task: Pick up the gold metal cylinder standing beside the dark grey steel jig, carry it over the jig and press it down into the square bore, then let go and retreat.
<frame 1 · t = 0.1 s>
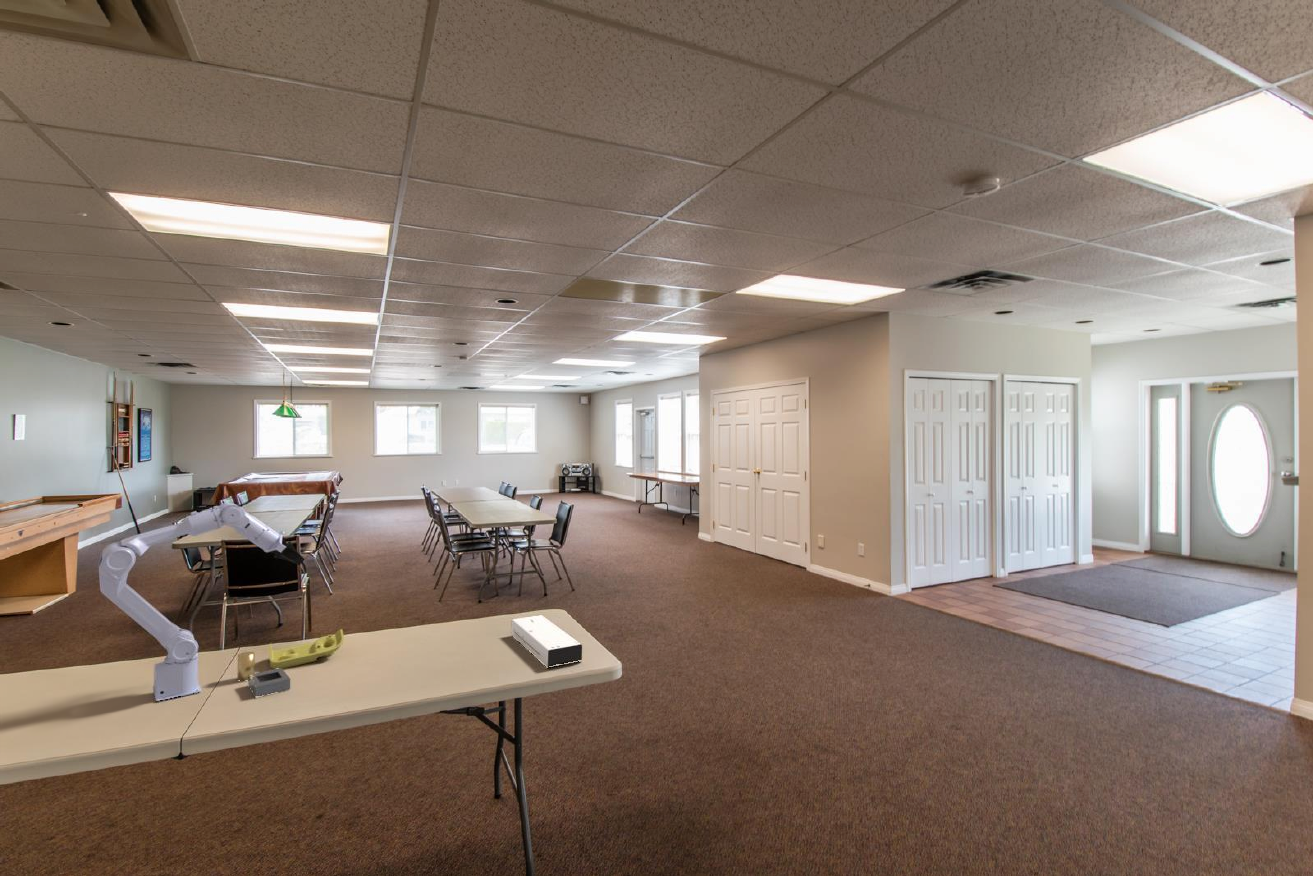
hand: (298, 559, 184), 32 cm above the table, tool tilted 50°, fingers open, 7 cm apart
gold metal cylinder: (246, 678, 175), on the table
plastic component: (306, 660, 190), on the table
jig: (269, 687, 169), on the table
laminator: (546, 650, 203), on the table
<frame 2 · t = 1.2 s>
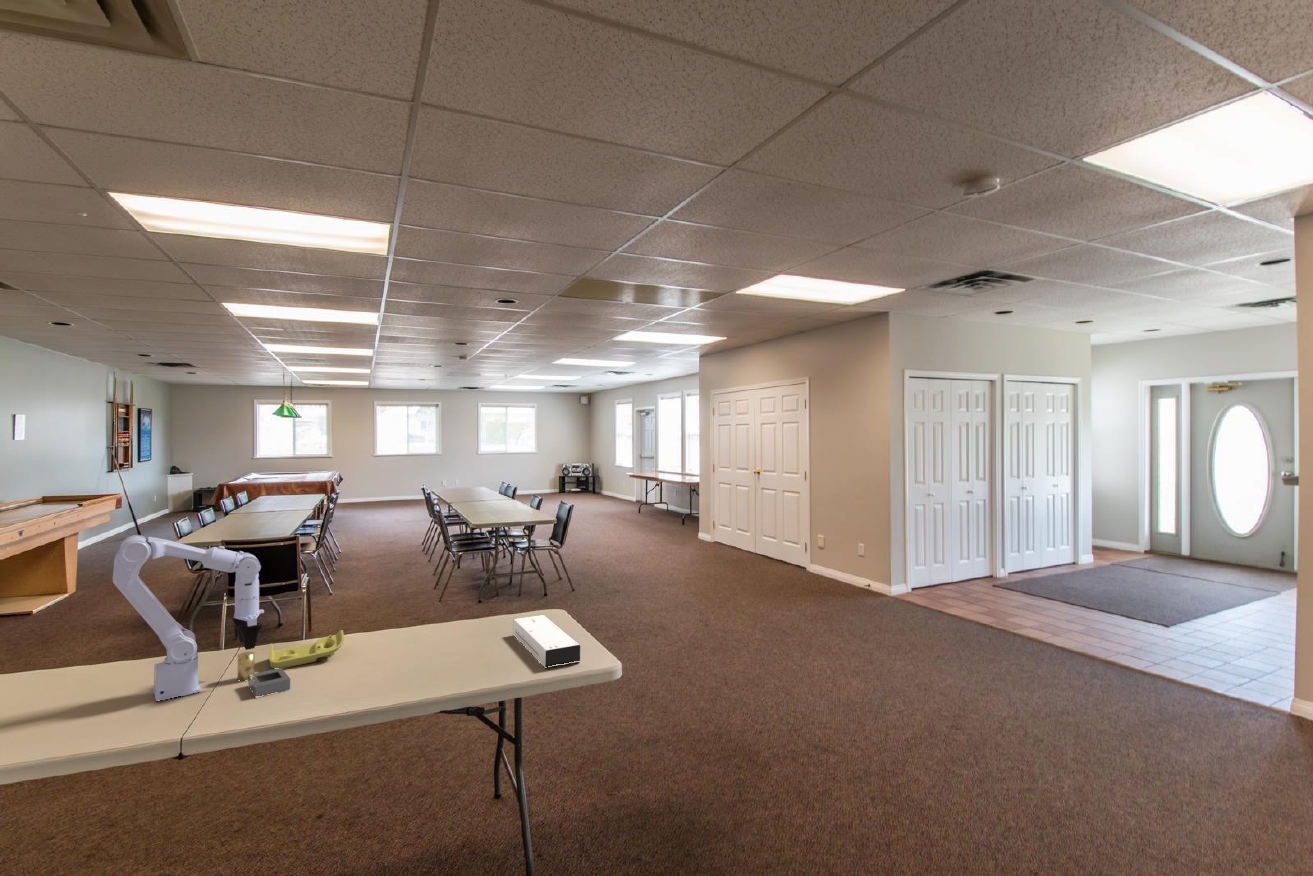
hand: (247, 645, 175), 10 cm above the table, tool pointing down, fingers open, 7 cm apart
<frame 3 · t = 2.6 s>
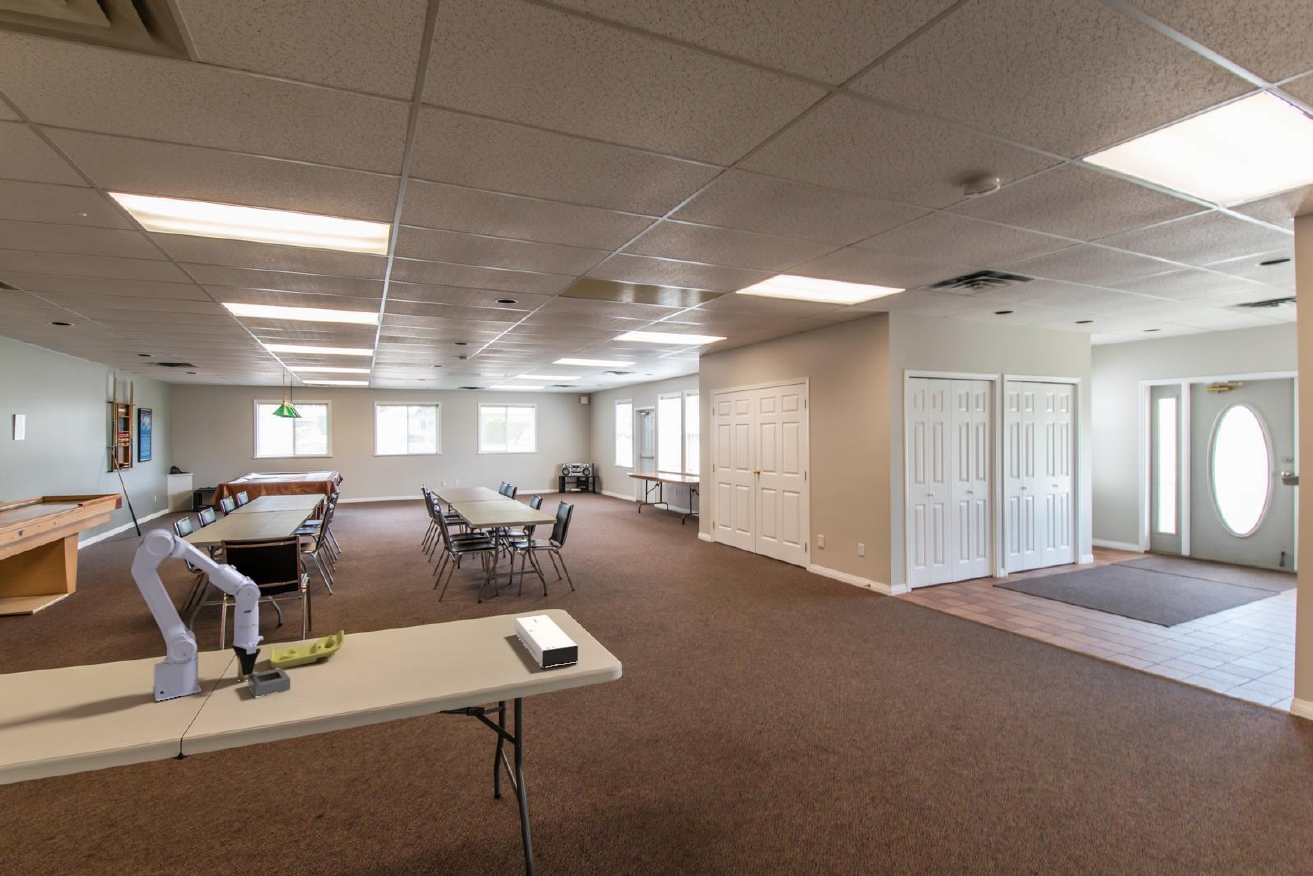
hand: (246, 672, 175), 2 cm above the table, tool pointing down, fingers closed on gold metal cylinder, 4 cm apart
gold metal cylinder: (246, 678, 175), on the table, touching gripper
everything else where it was.
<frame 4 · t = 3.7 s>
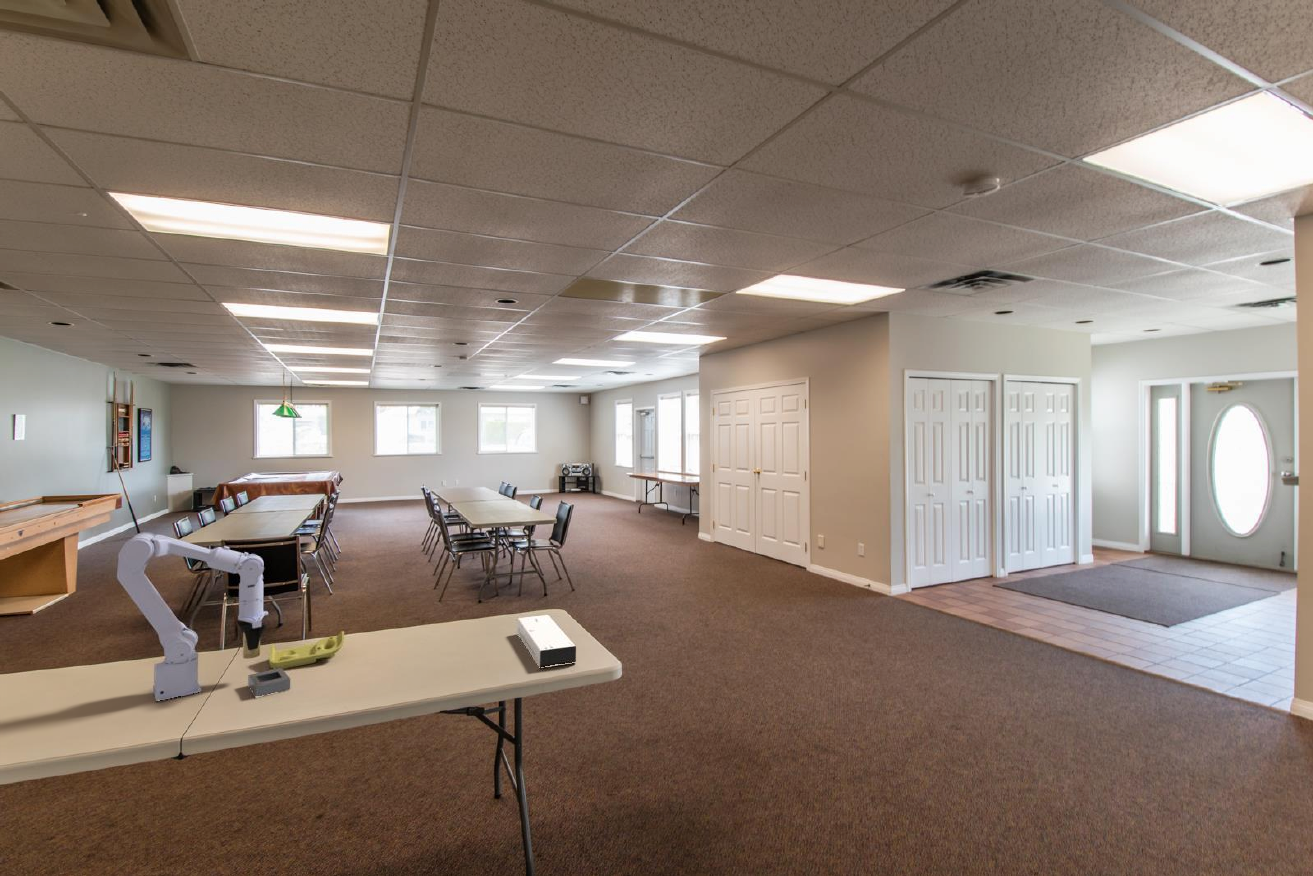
hand: (251, 647, 173), 9 cm above the table, tool pointing down, fingers closed on gold metal cylinder, 4 cm apart
gold metal cylinder: (251, 655, 174), point 7 cm above the table, touching gripper
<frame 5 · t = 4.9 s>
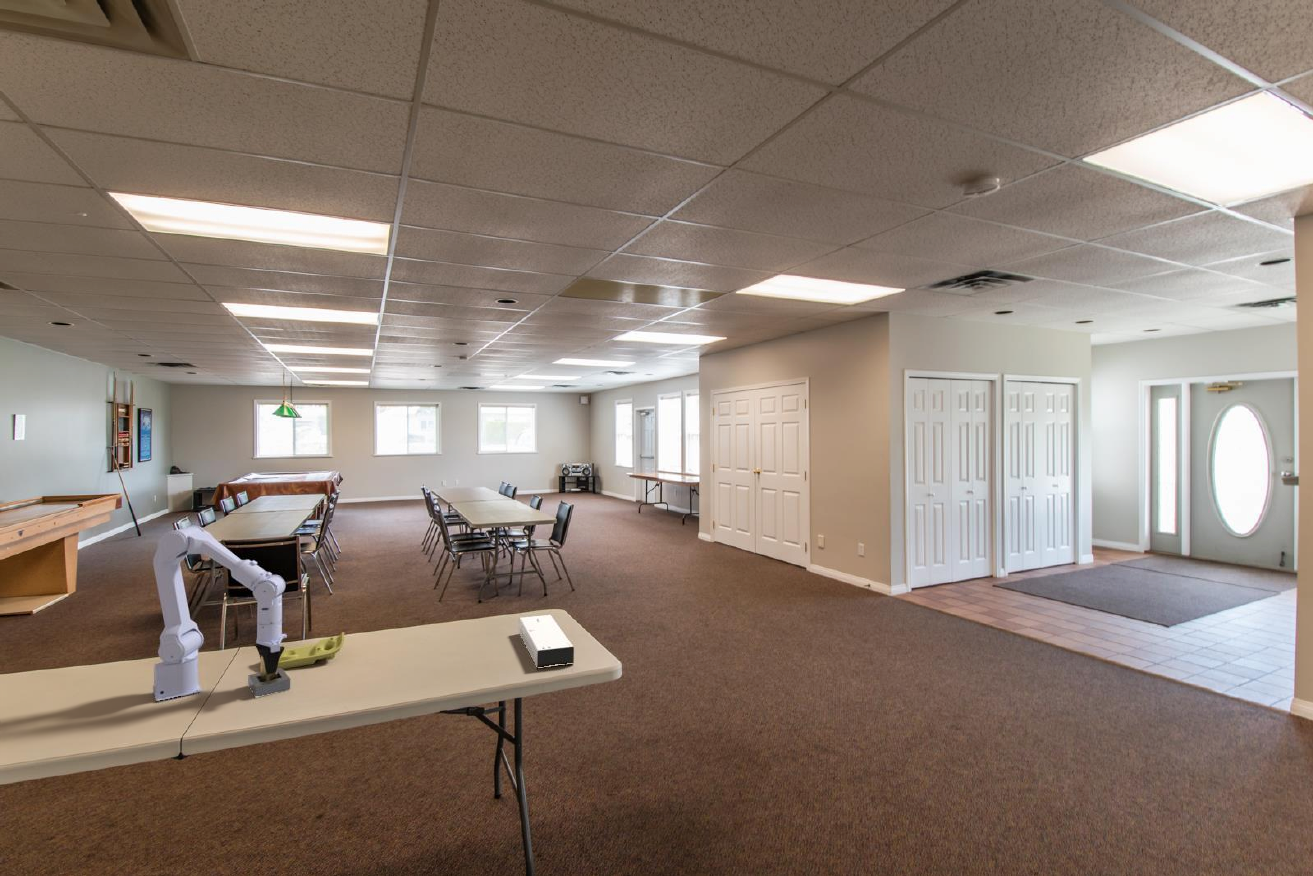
hand: (269, 671, 169), 5 cm above the table, tool pointing down, fingers closed on gold metal cylinder, 4 cm apart
gold metal cylinder: (269, 680, 169), point 2 cm above the table, touching gripper
when the fingers open (3 cm above the table, at t = 5.5 s): gold metal cylinder stays where it is, resting in jig.
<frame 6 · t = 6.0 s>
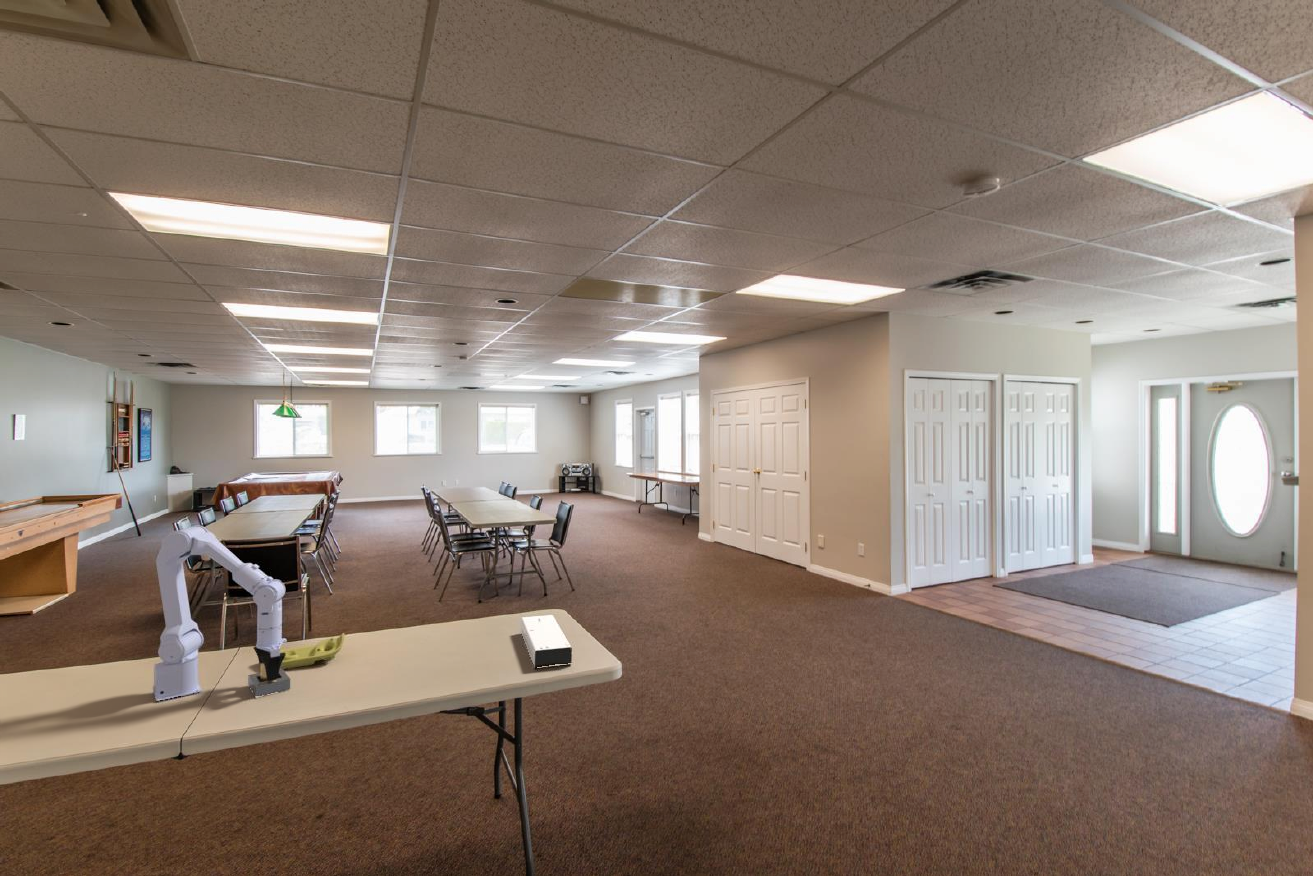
hand: (269, 675, 169), 3 cm above the table, tool pointing down, fingers open, 7 cm apart
gold metal cylinder: (268, 688, 169), resting in jig
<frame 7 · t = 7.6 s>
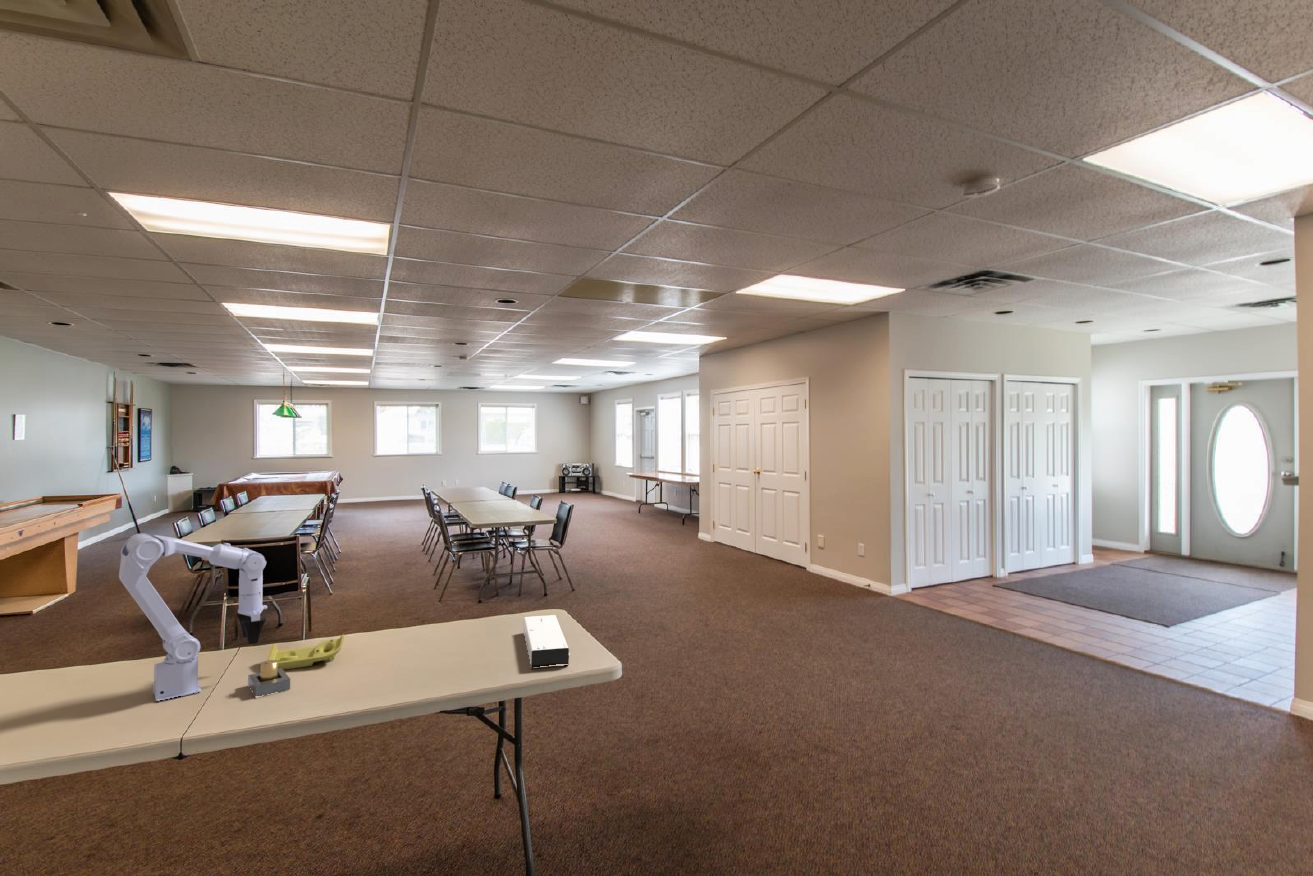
hand: (250, 640, 178), 10 cm above the table, tool pointing down, fingers open, 7 cm apart
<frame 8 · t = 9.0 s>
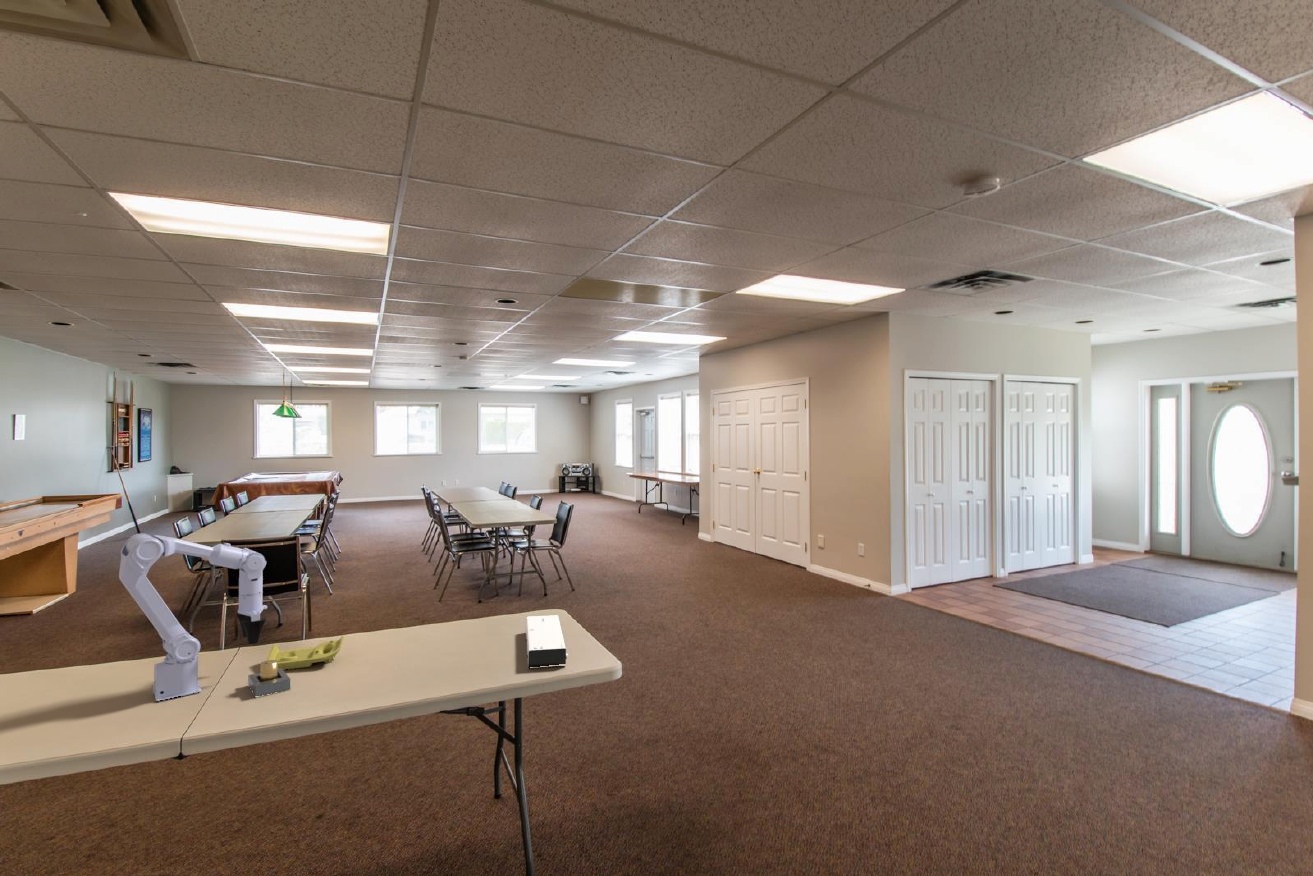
hand: (250, 640, 178), 10 cm above the table, tool pointing down, fingers open, 7 cm apart
at the end: gold metal cylinder 0.0 cm off-centre on the jig, point 0.0 cm above the jig's base; gold metal cylinder tilted 0°; the gripper is holding nothing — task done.
